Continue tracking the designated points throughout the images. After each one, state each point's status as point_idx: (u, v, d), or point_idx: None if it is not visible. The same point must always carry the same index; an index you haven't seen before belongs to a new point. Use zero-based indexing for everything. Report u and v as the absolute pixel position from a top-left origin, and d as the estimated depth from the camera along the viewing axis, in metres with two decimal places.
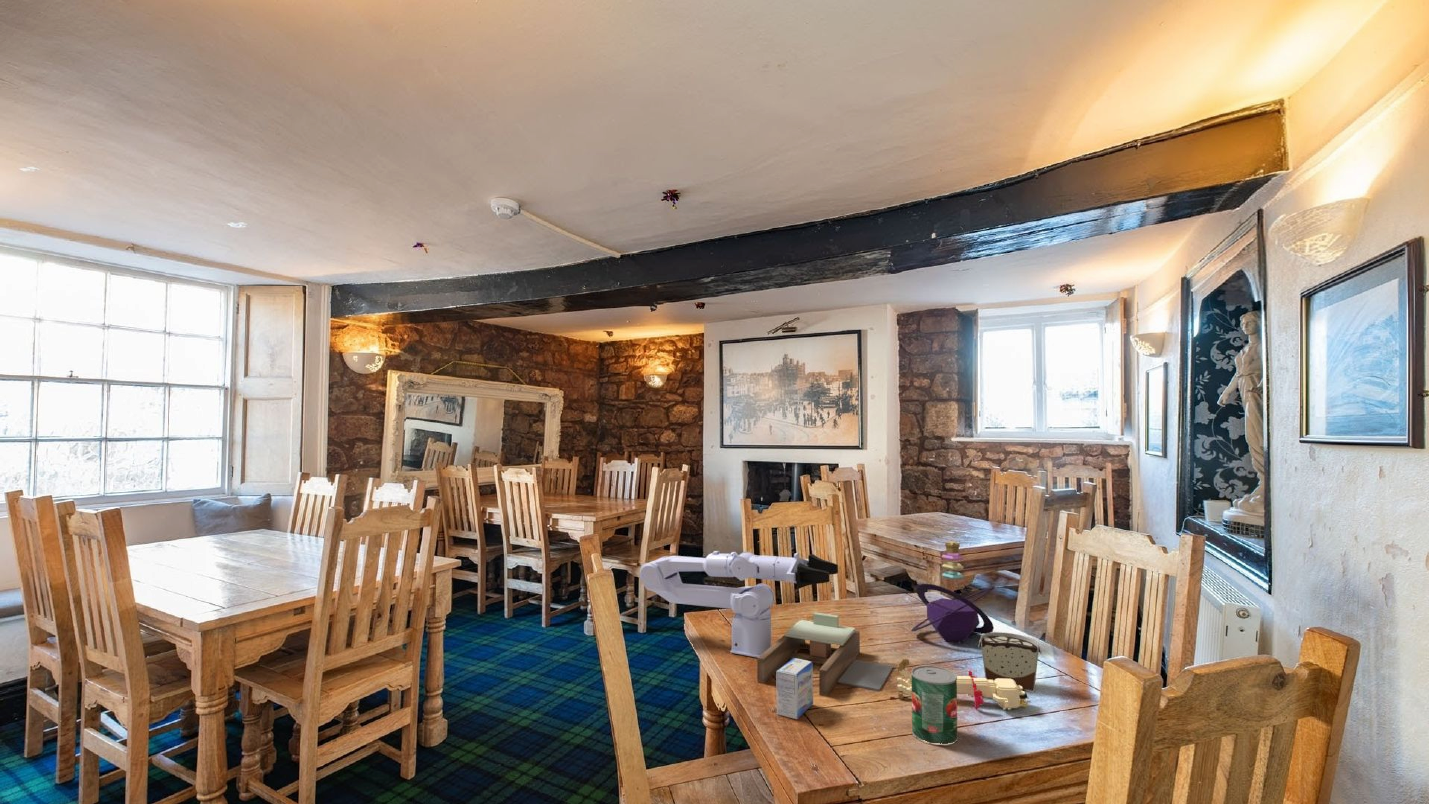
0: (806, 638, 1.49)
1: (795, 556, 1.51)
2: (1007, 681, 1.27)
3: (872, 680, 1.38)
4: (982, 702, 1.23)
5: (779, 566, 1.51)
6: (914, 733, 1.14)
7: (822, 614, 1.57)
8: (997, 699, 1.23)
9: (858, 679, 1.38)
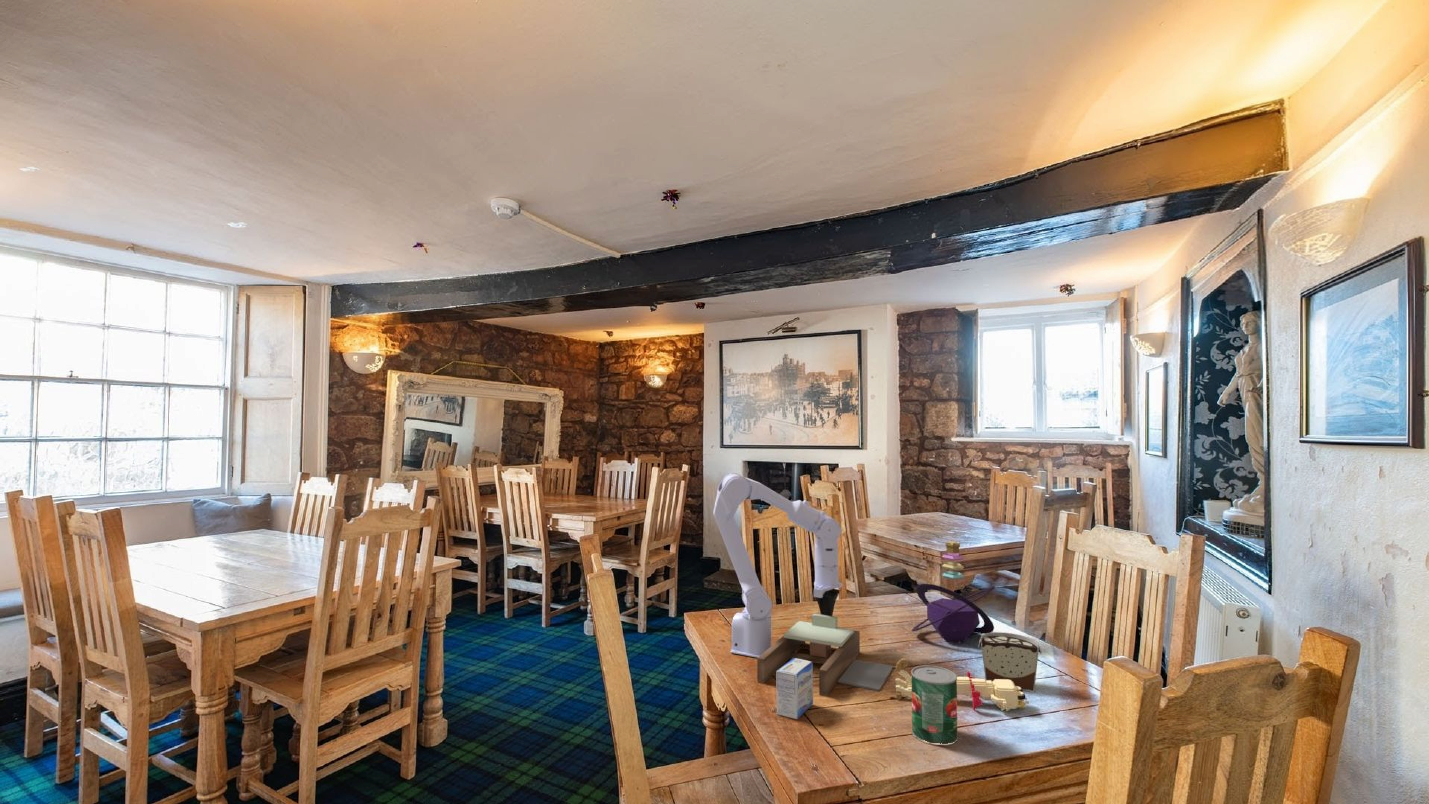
0: (805, 639, 1.48)
1: (839, 586, 1.55)
2: (1005, 682, 1.27)
3: (872, 680, 1.38)
4: (980, 703, 1.23)
5: (828, 572, 1.55)
6: (914, 733, 1.14)
7: (821, 615, 1.56)
8: (995, 700, 1.23)
9: (858, 679, 1.38)
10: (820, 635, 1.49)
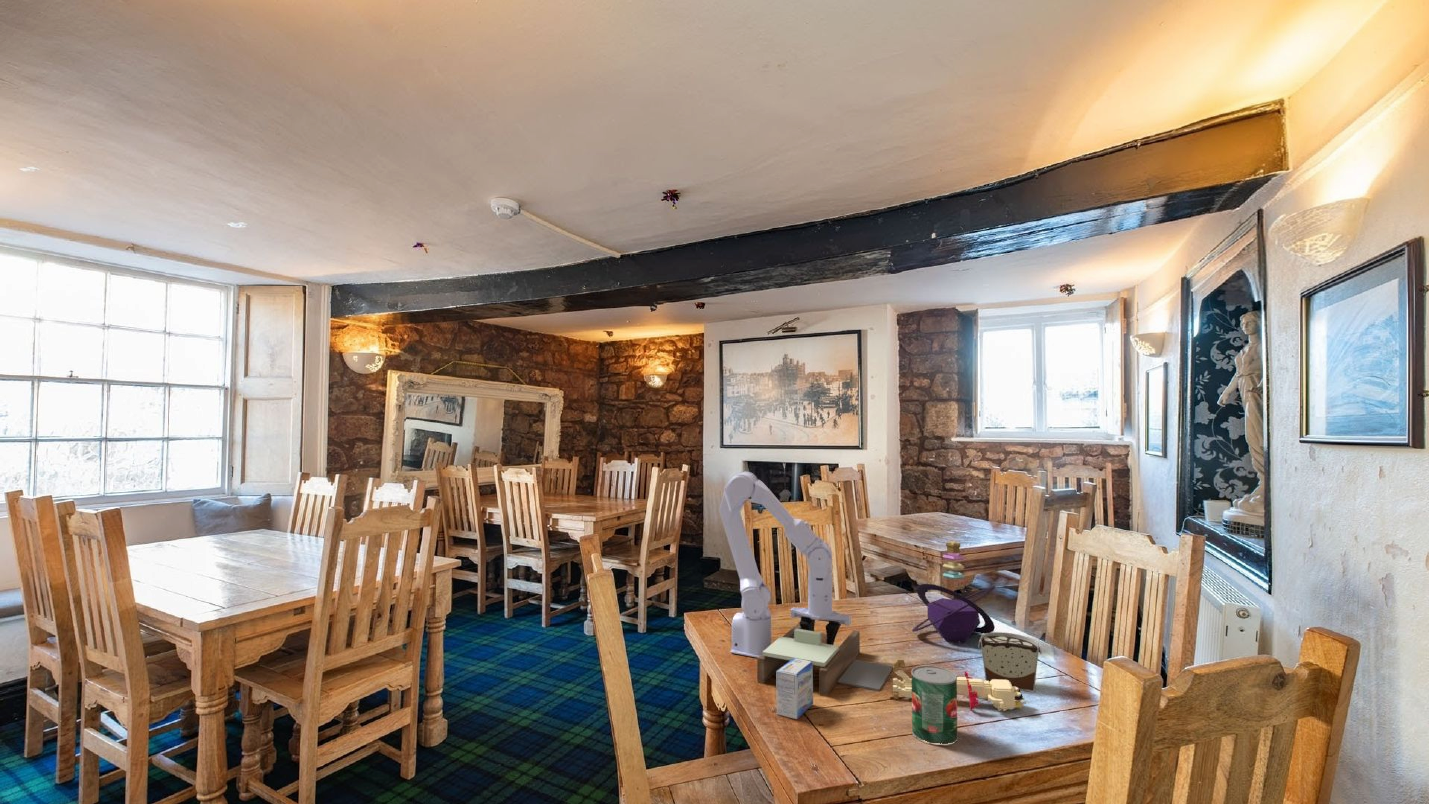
0: (785, 658, 1.36)
1: None
2: (1003, 682, 1.27)
3: (872, 680, 1.38)
4: (977, 703, 1.23)
5: (808, 598, 1.53)
6: (914, 733, 1.14)
7: (804, 631, 1.45)
8: (992, 700, 1.23)
9: (858, 679, 1.38)
10: (802, 653, 1.38)
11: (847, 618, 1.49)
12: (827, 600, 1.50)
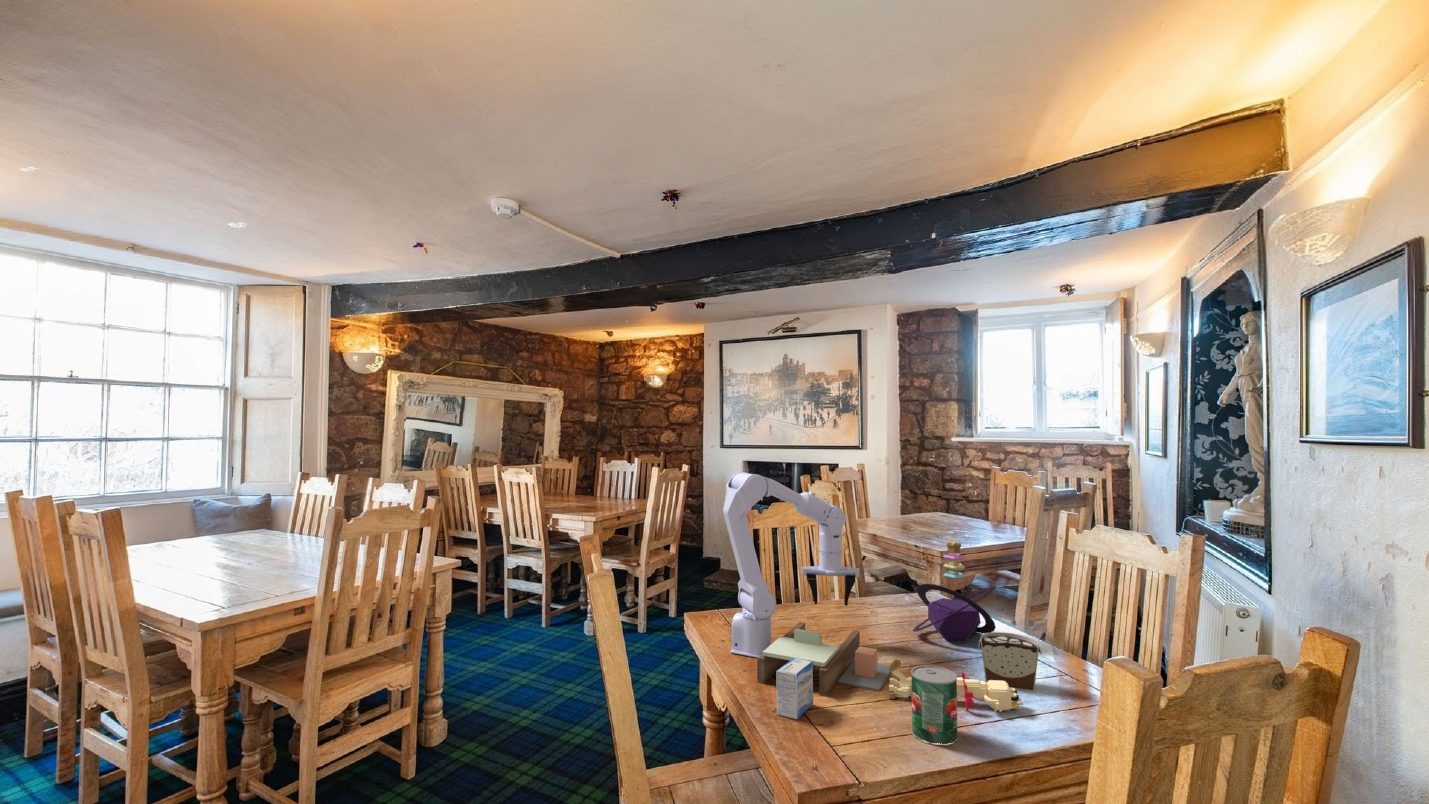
0: (785, 658, 1.36)
1: (826, 572, 1.61)
2: (999, 683, 1.26)
3: (872, 680, 1.38)
4: (972, 703, 1.23)
5: (820, 556, 1.63)
6: (914, 733, 1.14)
7: (804, 631, 1.45)
8: (988, 701, 1.23)
9: (858, 679, 1.38)
10: (802, 653, 1.38)
11: (858, 570, 1.62)
12: (839, 556, 1.62)
